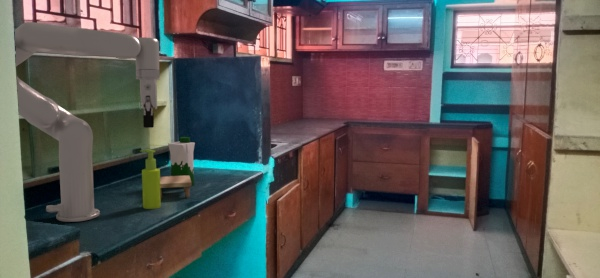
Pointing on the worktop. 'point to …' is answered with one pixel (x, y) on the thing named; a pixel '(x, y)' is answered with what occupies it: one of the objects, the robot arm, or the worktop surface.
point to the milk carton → (182, 158)
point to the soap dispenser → (151, 182)
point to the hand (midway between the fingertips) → (148, 125)
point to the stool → (176, 183)
